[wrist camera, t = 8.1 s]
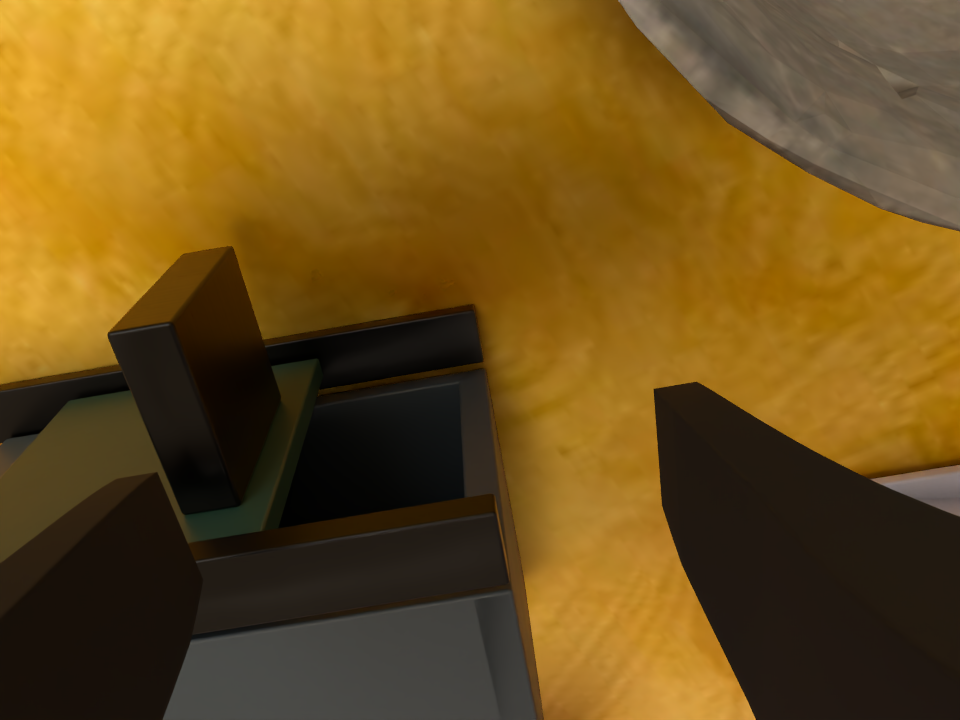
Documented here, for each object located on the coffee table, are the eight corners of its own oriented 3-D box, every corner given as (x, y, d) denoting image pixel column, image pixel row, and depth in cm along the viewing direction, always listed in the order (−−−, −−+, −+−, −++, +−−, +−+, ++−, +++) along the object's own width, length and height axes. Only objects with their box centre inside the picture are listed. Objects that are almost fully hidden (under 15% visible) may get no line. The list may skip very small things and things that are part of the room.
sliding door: (277, 214, 19) (185, 345, 12) (324, 376, 21) (268, 567, 14) (4, 262, 19) (-241, 419, 12) (76, 418, 21) (-98, 627, 14)
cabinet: (474, 303, 21) (496, 512, 13) (523, 578, 25) (565, 868, 17) (-19, 387, 21) (-312, 644, 13) (114, 644, 26) (-41, 958, 18)
